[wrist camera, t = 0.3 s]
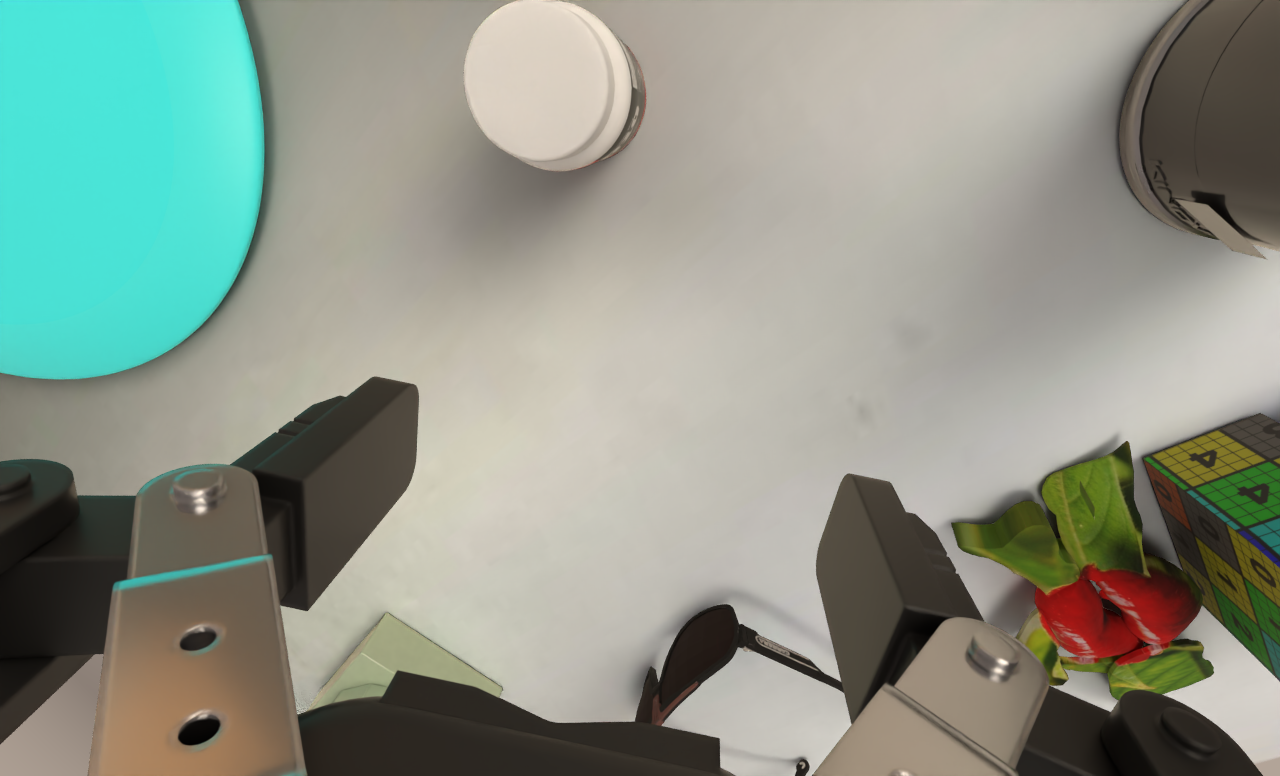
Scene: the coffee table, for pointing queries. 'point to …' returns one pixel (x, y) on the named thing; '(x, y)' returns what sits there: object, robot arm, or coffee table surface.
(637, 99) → the pill bottle
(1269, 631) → the block
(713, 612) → the sunglasses
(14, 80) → the frisbee
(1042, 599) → the decorative ornament
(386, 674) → the button base
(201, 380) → the coffee table surface
